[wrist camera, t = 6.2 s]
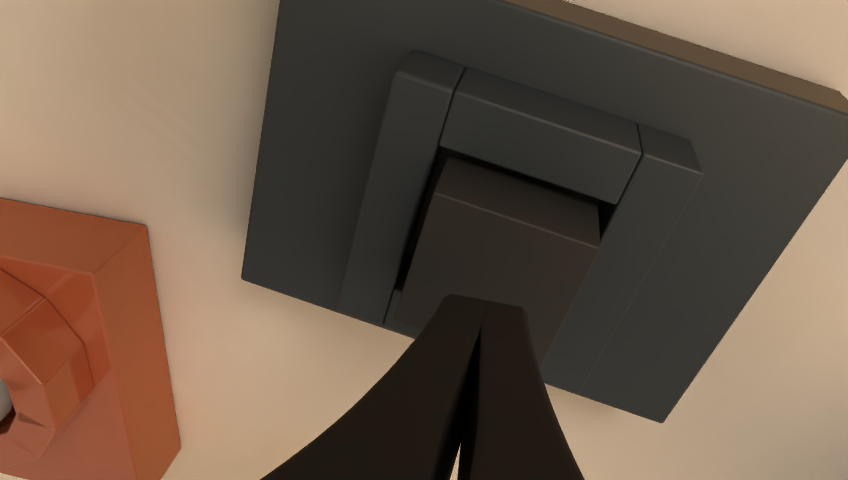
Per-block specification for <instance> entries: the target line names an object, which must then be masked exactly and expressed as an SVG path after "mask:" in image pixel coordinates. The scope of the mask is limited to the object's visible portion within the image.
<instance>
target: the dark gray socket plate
mask: <svg viewBox="0 0 848 480" xmlns="http://www.w3.org/2000/svg"><path fill="white" fill-rule="evenodd" d="M449 155H452V156H455V157H458V158H461V159H464V160H467V161H470V162H473V163H476V164H479V165H482V166H485V167H488V168H490V169H493V170H496V171H499V172H502V173H505V174H508V175H511V176H514V177H517V178H520V179H523V180H526V181H529V182H532V183H535V184H538V185H541V186H544V187H547V188H550V189H553V190H556V191H559V192H562V193H565V194H568V195H571V196H574V197H577V198H580V199H583V200H586V201H589V202H592V203H595V204H597V205H598V217H599V234H600V251H599V253H598V255H597V257H596V259H595V261H594V263H593V265H592V267H591V269H590V271H589V273H588V275H587V276H586V278H585V280H584V282H583V284H582V286H581V288H580V290H579V292H578V294H577V296H576V298H575V300H574V302H573V304H572V306H571V308H570V310H569V312H568V314H567V316H566V318H565V320H564V322H563V324H562V326H561V328H560V330H559V332H558V334H557V336H556V338H555V339H554V341H553V343H552V345H551V347H550V349H549V351H548V353H547V355H546V357H545V359H544V361H543V363H542V365H541V367H540V373H541V376H542V379H543V382H544V383H545V384H548V385H551V386H554V387H557V388H559V389H562V390H565V391H568V392H571V393H574V394H577V395H580V396H583V397H586V398H589V399H592V400H594V401H597V402H600V403H603V404H606V405H609V406H612V407H615V408H618V409H621V410H624V411H627V412H629V413H632V414H635V415H638V416H641V417H644V418H647V419H650V420H653V421H656V422H659V423H663V422H664V421H665V419H666V418H667V417H668V415H669V414H670V412H671V411H672V409H673V408H674V407H675V405H676V404H677V402H678V401H679V399H680V398H681V397H682V395H683V394H684V392H685V391H686V389H687V388H688V387H689V385H690V384H691V382H692V381H693V379H694V378H695V376H696V375H697V374H698V372H699V371H700V369H701V368H702V366H703V365H704V364H705V362H706V361H707V359H708V358H709V356H710V355H711V354H712V352H713V351H714V349H715V348H716V346H717V345H718V344H719V342H720V341H721V339H722V338H723V336H724V335H725V334H726V332H727V331H728V329H729V328H730V326H731V325H732V324H733V322H734V321H735V319H736V318H737V316H738V315H739V313H740V312H741V311H742V309H743V308H744V306H745V305H746V303H747V302H748V301H749V299H750V298H751V296H752V295H753V293H754V292H755V291H756V289H757V288H758V286H759V285H760V283H761V282H762V281H763V279H764V278H765V276H766V275H767V273H768V272H769V271H770V269H771V268H772V266H773V265H774V263H775V262H776V260H777V259H778V258H779V256H780V255H781V253H782V252H783V250H784V249H785V248H786V246H787V245H788V243H789V242H790V240H791V239H792V238H793V236H794V235H795V233H796V232H797V230H798V229H799V228H800V226H801V225H802V223H803V222H804V220H805V219H806V218H807V216H808V215H809V213H810V212H811V210H812V209H813V207H814V206H815V205H816V203H817V202H818V200H819V199H820V197H821V196H822V195H823V193H824V192H825V190H826V189H827V187H828V186H829V185H830V183H831V182H832V180H833V179H834V177H835V176H836V175H837V173H838V172H839V170H840V169H841V167H842V166H843V165H844V163H845V162H846V160H847V159H848V100H847V99H846V98H845V97H844V96H843V95H842V94H841V93H840V92H839V91H836V90H833V89H830V88H827V87H824V86H821V85H818V84H814V83H811V82H808V81H805V80H802V79H799V78H796V77H793V76H790V75H787V74H784V73H781V72H778V71H775V70H772V69H769V68H766V67H763V66H760V65H757V64H754V63H751V62H748V61H744V60H741V59H738V58H735V57H732V56H729V55H726V54H723V53H720V52H717V51H714V50H711V49H708V48H705V47H702V46H699V45H696V44H693V43H690V42H687V41H684V40H681V39H678V38H674V37H671V36H668V35H665V34H662V33H659V32H656V31H653V30H650V29H647V28H644V27H641V26H638V25H635V24H632V23H629V22H626V21H623V20H620V19H617V18H614V17H611V16H608V15H604V14H601V13H598V12H595V11H592V10H589V9H586V8H583V7H580V6H577V5H574V4H571V3H568V2H565V1H562V0H280V3H279V10H278V17H277V25H276V32H275V39H274V46H273V53H272V60H271V67H270V74H269V82H268V89H267V96H266V103H265V110H264V117H263V124H262V131H261V139H260V146H259V153H258V160H257V167H256V174H255V181H254V188H253V196H252V203H251V210H250V217H249V224H248V231H247V238H246V245H245V253H244V260H243V267H242V274H241V278H242V279H243V280H245V281H248V282H250V283H253V284H256V285H259V286H262V287H265V288H268V289H271V290H274V291H277V292H280V293H283V294H285V295H288V296H291V297H294V298H297V299H300V300H303V301H306V302H309V303H312V304H315V305H318V306H320V307H323V308H326V309H329V310H332V311H335V312H338V313H341V314H344V315H347V316H350V317H352V318H355V319H358V320H361V321H364V322H367V323H370V324H373V325H376V326H379V327H382V328H385V329H387V330H390V331H393V332H396V333H399V334H402V335H405V336H408V337H411V338H414V339H416V338H417V337H418V335H419V334H420V333H421V331H422V330H420V329H417V328H414V327H412V326H409V325H406V324H403V323H400V322H397V321H395V320H394V316H395V312H396V309H397V306H398V303H399V300H400V297H401V293H402V290H403V287H404V284H405V281H406V278H407V274H408V271H409V268H410V265H411V262H412V259H413V256H414V252H415V249H416V246H417V243H418V240H419V237H420V233H421V230H422V227H423V224H424V221H425V218H426V214H427V211H428V208H429V205H430V202H431V199H432V196H433V193H434V190H435V188H436V185H437V183H438V180H439V178H440V175H441V173H442V170H443V168H444V165H445V163H446V160H447V158H448V156H449Z"/></svg>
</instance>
